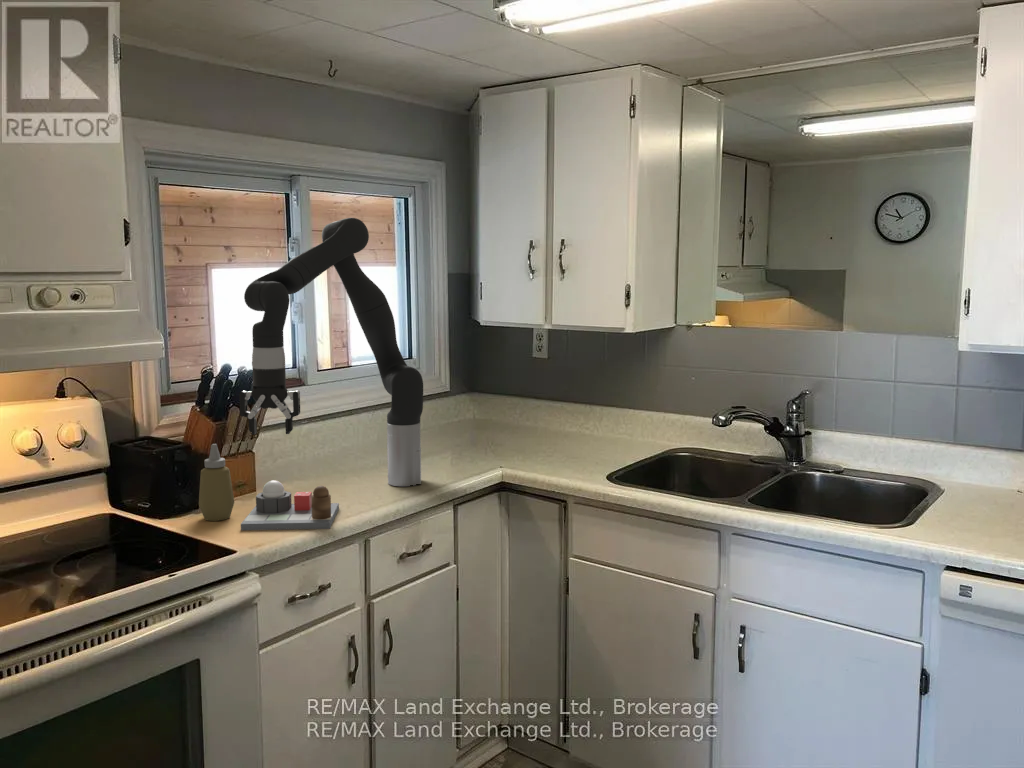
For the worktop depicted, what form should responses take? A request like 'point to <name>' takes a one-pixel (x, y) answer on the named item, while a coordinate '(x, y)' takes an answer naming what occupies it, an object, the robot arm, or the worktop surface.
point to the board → (284, 515)
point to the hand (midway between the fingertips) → (271, 433)
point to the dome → (273, 489)
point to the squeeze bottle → (215, 488)
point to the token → (321, 503)
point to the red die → (302, 501)
